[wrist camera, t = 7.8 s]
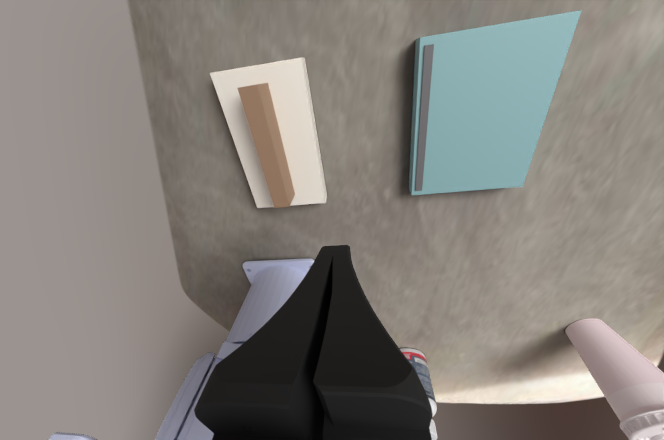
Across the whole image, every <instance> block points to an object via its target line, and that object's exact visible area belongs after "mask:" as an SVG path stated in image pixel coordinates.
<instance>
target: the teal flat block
mask: <svg viewBox="0 0 664 440" xmlns="http://www.w3.org/2000/svg"><path fill="white" fill-rule="evenodd" d="M580 13H581V10H580V11H574V12H569V13H563V14H557V15H551V16H545V17H539V18H533V19H527V20H521V21H515V22H509V23H504V24H498V25H492V26H486V27H480V28H474V29H468V30H462V31H456V32H450V33H444V34H438V35H433V36H427V37H421V38H418V39H416V44H415V65H414V86H413V108H412V129H411V150H410V171H409V191H410V193H411V195H422V194H435V193H447V192H460V191H472V190H485V189H497V188H510V187H522V186H523V184H524V181H525V178H526V175H527V172H528V169H529V166H530V163H531V160H532V157H533V154H534V151H535V148H536V145H537V142H538V139H539V136H540V133H541V130H542V127H543V124H544V121H545V118H546V115H547V112H548V109H549V106H550V103H551V100H552V97H553V94H554V91H555V88H556V85H557V82H558V79H559V76H560V73H561V70H562V67H563V64H564V61H565V58H566V55H567V52H568V49H569V46H570V43H571V40H572V37H573V34H574V31H575V28H576V25H577V22H578V19H579V16H580Z"/></svg>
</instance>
